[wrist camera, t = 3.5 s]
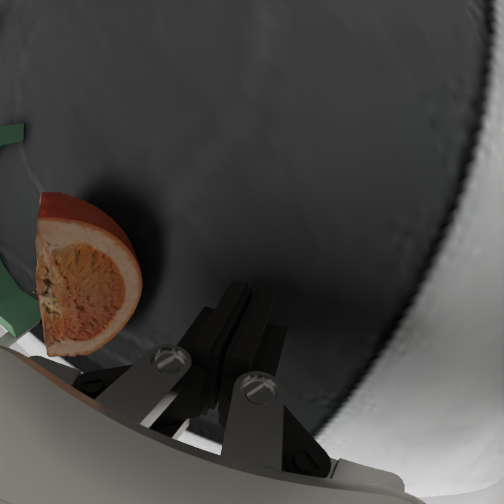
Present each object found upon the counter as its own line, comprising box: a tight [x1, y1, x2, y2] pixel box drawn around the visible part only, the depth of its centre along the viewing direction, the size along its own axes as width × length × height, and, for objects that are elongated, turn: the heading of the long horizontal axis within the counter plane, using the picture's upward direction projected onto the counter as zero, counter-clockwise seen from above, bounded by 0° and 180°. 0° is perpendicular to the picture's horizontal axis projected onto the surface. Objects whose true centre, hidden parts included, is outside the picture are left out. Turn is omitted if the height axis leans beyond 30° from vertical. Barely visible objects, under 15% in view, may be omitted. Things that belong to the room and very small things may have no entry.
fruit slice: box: [33, 192, 142, 357], centre depth 11 cm, size 8×7×5 cm
